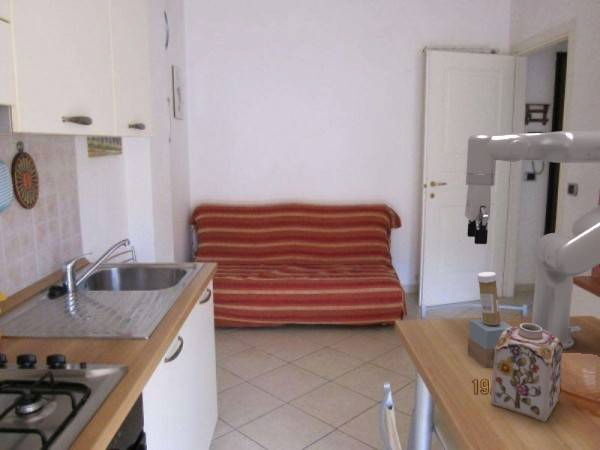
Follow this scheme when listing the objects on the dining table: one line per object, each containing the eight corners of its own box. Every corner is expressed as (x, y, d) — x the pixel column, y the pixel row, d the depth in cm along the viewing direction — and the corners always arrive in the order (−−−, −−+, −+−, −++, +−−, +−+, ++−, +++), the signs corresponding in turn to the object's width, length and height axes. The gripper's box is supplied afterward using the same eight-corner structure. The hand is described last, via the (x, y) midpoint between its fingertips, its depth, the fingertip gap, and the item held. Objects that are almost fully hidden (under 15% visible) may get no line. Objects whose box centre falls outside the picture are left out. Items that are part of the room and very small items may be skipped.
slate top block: (495, 334, 136) (496, 317, 135) (513, 346, 129) (514, 328, 128) (468, 337, 135) (469, 319, 134) (485, 349, 127) (487, 331, 126)
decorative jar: (506, 384, 119) (511, 313, 116) (559, 400, 112) (566, 325, 109) (489, 405, 110) (494, 328, 107) (545, 424, 103) (553, 342, 100)
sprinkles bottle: (504, 322, 130) (499, 272, 128) (492, 327, 128) (487, 276, 126) (491, 318, 134) (486, 270, 132) (478, 323, 132) (473, 274, 130)
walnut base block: (492, 351, 137) (493, 334, 137) (512, 364, 130) (513, 346, 129) (467, 354, 135) (468, 337, 134) (485, 367, 128) (486, 349, 127)
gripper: (460, 177, 146) (457, 233, 149) (472, 182, 129) (469, 246, 132) (486, 177, 145) (483, 234, 148) (502, 182, 128) (498, 247, 131)
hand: (476, 240), depth 140 cm, fingers open, 9 cm apart
